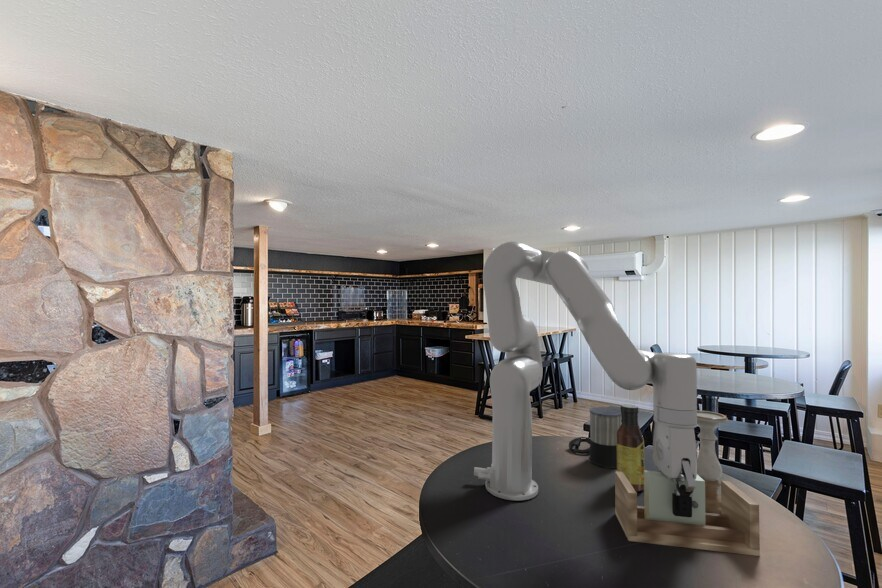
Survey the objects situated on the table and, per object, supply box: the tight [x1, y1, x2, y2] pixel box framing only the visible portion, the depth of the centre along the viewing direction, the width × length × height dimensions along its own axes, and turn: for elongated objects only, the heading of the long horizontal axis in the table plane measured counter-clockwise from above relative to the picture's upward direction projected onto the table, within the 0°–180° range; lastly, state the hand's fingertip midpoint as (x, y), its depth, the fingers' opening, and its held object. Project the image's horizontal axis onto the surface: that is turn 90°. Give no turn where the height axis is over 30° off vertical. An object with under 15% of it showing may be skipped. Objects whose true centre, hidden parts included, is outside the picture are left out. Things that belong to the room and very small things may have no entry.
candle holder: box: [697, 409, 729, 514], centre depth 89 cm, size 9×9×20 cm
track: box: [614, 470, 761, 557], centre depth 77 cm, size 22×10×9 cm, turn 79°
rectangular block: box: [643, 469, 706, 526], centre depth 77 cm, size 10×4×10 cm, turn 80°
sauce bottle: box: [616, 403, 646, 492], centre depth 98 cm, size 7×6×20 cm
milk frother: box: [568, 406, 622, 469], centre depth 117 cm, size 14×16×15 cm
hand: (675, 506), depth 78 cm, fingers open, 5 cm apart
